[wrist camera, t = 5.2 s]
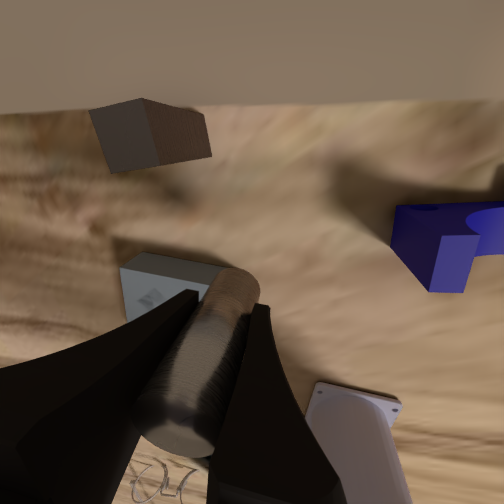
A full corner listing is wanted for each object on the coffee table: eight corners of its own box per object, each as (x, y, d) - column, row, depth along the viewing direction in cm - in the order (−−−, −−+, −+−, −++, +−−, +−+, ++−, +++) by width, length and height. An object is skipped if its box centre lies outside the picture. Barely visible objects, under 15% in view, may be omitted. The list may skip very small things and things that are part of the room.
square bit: (212, 156, 17) (160, 165, 11) (178, 162, 18) (111, 173, 11) (203, 114, 16) (141, 97, 10) (168, 122, 17) (88, 110, 10)
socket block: (233, 348, 24) (225, 374, 22) (149, 329, 25) (131, 351, 23) (241, 270, 20) (232, 289, 18) (142, 251, 21) (119, 267, 19)
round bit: (257, 313, 13) (218, 467, 7) (211, 304, 14) (135, 442, 7) (263, 273, 12) (223, 411, 6) (213, 263, 13) (125, 386, 6)
